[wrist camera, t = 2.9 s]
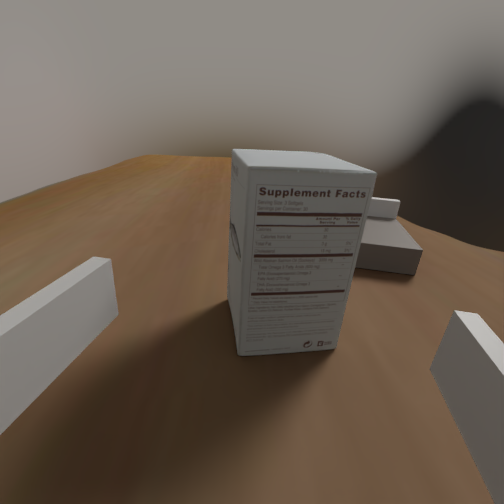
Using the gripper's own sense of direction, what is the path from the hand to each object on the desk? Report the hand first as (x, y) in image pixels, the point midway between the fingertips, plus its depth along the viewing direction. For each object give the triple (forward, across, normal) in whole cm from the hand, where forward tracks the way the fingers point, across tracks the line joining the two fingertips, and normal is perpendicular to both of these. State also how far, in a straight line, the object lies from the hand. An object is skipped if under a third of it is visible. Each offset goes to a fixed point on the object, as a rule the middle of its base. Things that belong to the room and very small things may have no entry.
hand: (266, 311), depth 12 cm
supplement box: (+10, 0, -8) cm, 13 cm away
